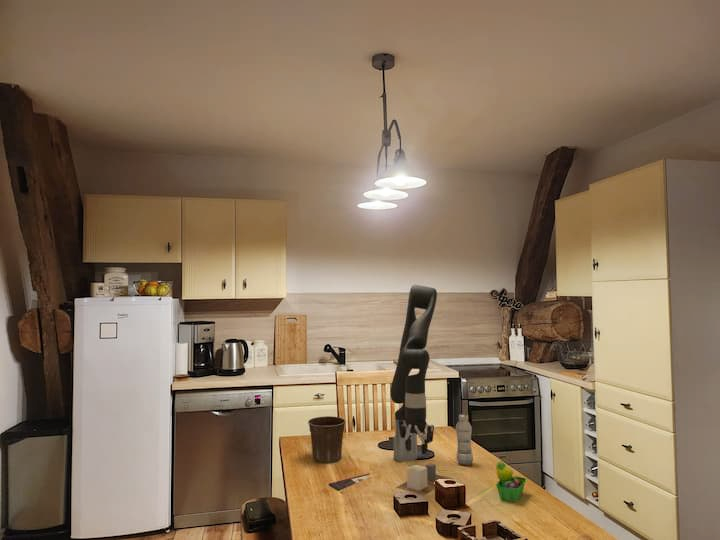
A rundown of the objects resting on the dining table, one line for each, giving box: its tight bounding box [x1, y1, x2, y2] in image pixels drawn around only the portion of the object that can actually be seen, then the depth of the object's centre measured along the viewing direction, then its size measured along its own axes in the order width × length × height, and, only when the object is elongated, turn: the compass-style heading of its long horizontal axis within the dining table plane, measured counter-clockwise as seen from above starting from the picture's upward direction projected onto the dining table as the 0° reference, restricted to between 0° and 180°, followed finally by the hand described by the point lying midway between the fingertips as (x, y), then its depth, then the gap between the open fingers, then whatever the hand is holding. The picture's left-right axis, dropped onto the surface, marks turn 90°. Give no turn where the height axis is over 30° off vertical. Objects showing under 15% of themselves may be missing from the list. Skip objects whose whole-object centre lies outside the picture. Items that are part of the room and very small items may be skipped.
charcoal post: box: [425, 462, 437, 481], centre depth 190 cm, size 3×3×5 cm
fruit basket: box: [495, 461, 527, 503], centre depth 176 cm, size 11×9×11 cm
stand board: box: [395, 473, 454, 496], centre depth 186 cm, size 20×12×1 cm, turn 140°
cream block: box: [406, 464, 427, 491], centre depth 183 cm, size 5×5×7 cm
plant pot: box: [307, 415, 346, 464], centre depth 219 cm, size 16×16×16 cm
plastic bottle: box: [455, 413, 474, 466], centre depth 210 cm, size 6×7×20 cm
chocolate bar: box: [328, 473, 374, 494], centre depth 190 cm, size 9×1×18 cm
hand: (416, 452), depth 183 cm, fingers open, 6 cm apart
